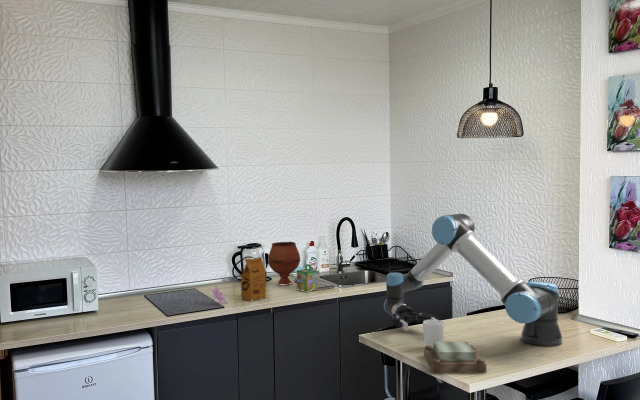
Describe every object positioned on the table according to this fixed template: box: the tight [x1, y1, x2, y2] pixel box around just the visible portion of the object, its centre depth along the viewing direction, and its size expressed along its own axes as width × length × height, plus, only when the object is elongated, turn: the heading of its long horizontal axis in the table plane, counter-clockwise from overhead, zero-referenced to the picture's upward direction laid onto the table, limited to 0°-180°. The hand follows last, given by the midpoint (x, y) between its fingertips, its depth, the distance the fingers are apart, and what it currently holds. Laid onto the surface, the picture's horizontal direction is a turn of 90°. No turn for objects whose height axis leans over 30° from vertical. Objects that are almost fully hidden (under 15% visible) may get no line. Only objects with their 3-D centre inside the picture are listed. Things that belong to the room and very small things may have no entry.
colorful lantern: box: [296, 263, 319, 291], centre depth 330 cm, size 9×9×15 cm
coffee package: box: [240, 256, 267, 302], centre depth 309 cm, size 10×12×22 cm
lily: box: [209, 283, 228, 306], centre depth 298 cm, size 12×12×10 cm
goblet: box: [267, 241, 301, 284], centre depth 348 cm, size 19×19×25 cm
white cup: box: [422, 319, 445, 347], centre depth 221 cm, size 8×8×10 cm
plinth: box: [423, 341, 487, 374], centre depth 203 cm, size 18×18×6 cm
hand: (423, 325), depth 230 cm, fingers open, 13 cm apart
